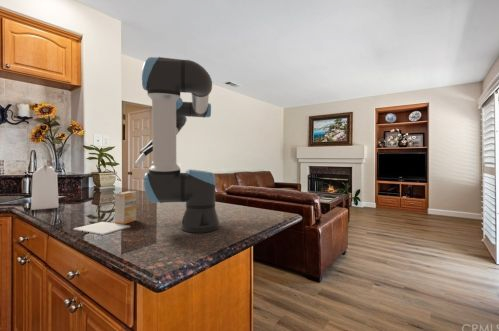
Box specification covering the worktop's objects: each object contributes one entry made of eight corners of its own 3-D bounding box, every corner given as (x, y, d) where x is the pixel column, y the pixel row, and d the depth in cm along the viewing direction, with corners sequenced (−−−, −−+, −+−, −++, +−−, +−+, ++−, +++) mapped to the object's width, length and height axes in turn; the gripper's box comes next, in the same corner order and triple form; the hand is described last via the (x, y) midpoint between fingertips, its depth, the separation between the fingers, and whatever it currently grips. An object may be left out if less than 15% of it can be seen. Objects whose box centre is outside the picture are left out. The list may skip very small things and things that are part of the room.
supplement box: (124, 225, 104) (124, 193, 104) (114, 224, 105) (114, 193, 105) (137, 220, 112) (137, 191, 112) (127, 219, 113) (127, 190, 113)
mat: (130, 227, 101) (130, 225, 101) (102, 235, 90) (102, 233, 90) (102, 222, 107) (102, 221, 107) (73, 229, 96) (73, 228, 96)
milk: (31, 206, 141) (31, 160, 140) (57, 204, 148) (57, 160, 148) (31, 209, 132) (30, 160, 131) (58, 207, 139) (58, 160, 138)
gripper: (188, 139, 131) (167, 170, 116) (155, 139, 139) (132, 169, 125) (182, 127, 126) (159, 159, 111) (148, 129, 134) (123, 158, 120)
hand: (145, 164), depth 118 cm, fingers open, 9 cm apart
